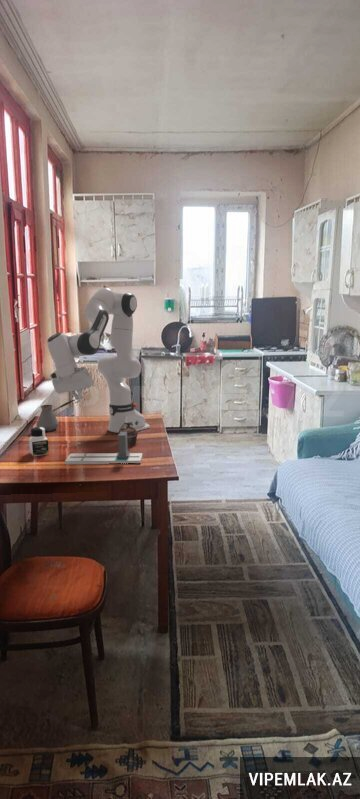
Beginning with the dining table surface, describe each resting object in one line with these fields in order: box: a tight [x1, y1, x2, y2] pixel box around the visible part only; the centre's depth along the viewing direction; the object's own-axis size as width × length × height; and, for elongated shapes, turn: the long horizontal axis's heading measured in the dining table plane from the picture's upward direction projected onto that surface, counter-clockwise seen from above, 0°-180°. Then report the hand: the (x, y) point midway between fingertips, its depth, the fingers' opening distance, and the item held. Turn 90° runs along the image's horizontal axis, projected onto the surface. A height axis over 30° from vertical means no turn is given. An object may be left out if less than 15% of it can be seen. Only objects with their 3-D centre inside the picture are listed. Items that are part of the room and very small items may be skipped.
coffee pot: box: [36, 398, 77, 432], centre depth 267 cm, size 21×12×15 cm, turn 115°
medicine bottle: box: [28, 426, 50, 457], centre depth 224 cm, size 7×7×12 cm
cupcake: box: [117, 422, 139, 447], centre depth 238 cm, size 10×10×10 cm
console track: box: [64, 452, 144, 465], centre depth 214 cm, size 32×10×2 cm, turn 89°
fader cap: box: [117, 432, 131, 458], centre depth 213 cm, size 5×7×10 cm
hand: (79, 399), depth 219 cm, fingers closed
